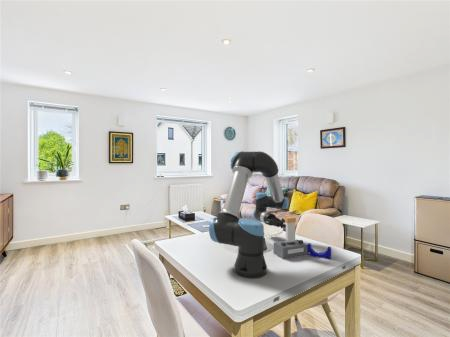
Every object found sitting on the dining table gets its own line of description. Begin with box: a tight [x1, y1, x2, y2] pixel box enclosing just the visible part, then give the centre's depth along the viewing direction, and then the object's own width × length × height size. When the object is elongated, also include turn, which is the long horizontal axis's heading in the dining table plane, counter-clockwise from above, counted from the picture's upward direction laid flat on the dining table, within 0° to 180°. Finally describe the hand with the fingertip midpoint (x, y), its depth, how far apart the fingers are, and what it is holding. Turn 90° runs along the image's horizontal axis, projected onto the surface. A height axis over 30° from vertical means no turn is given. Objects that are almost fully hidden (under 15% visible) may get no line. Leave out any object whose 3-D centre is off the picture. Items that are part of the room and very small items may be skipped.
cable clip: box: [307, 242, 332, 260], centre depth 131 cm, size 12×4×6 cm, turn 59°
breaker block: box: [272, 239, 309, 260], centre depth 133 cm, size 16×9×8 cm, turn 111°
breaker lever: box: [284, 216, 297, 244], centre depth 133 cm, size 6×3×14 cm, turn 111°
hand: (291, 227), depth 135 cm, fingers closed
